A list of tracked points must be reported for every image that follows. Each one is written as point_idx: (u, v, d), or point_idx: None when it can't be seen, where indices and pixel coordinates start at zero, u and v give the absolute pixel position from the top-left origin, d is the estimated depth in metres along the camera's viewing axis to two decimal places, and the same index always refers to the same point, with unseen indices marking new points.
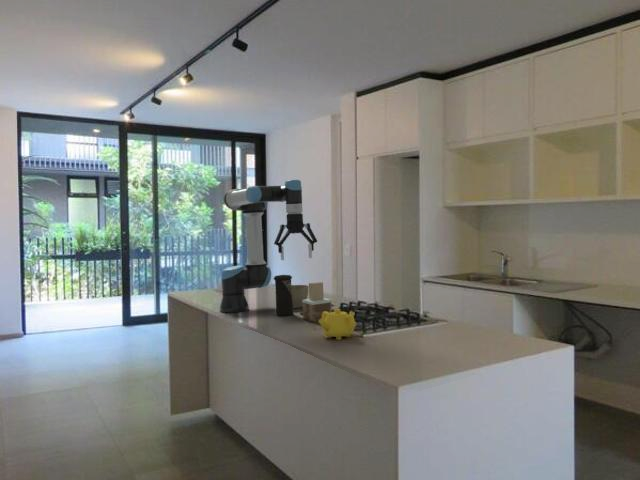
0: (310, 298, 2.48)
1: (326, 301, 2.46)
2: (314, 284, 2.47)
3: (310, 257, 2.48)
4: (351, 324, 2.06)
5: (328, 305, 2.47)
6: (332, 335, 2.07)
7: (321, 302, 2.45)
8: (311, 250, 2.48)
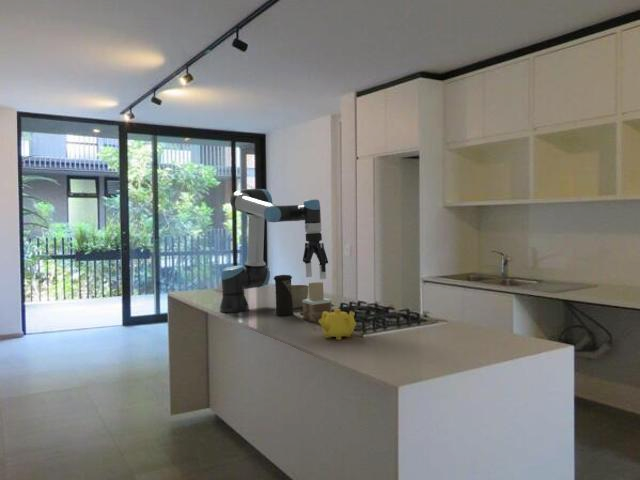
0: (310, 298, 2.48)
1: (326, 301, 2.46)
2: (314, 284, 2.47)
3: (320, 278, 2.42)
4: (351, 324, 2.06)
5: (328, 305, 2.47)
6: (332, 335, 2.07)
7: (321, 302, 2.45)
8: (320, 271, 2.41)
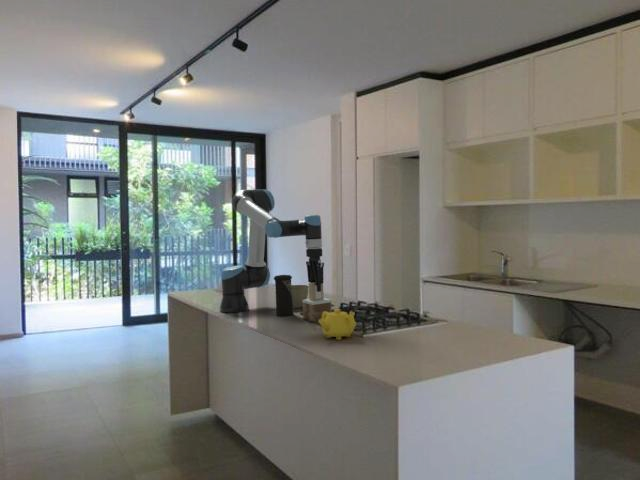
0: (310, 298, 2.48)
1: (326, 301, 2.46)
2: (314, 284, 2.47)
3: None
4: (351, 324, 2.06)
5: (328, 305, 2.47)
6: (332, 335, 2.07)
7: (321, 302, 2.45)
8: (315, 291, 2.46)
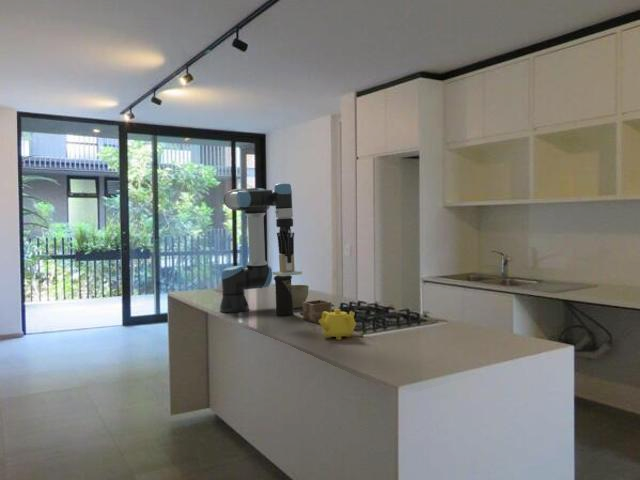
0: (280, 270, 2.39)
1: (297, 273, 2.37)
2: (284, 255, 2.38)
3: (286, 269, 2.38)
4: (351, 324, 2.06)
5: (328, 305, 2.47)
6: (332, 335, 2.07)
7: (291, 274, 2.36)
8: (286, 262, 2.37)
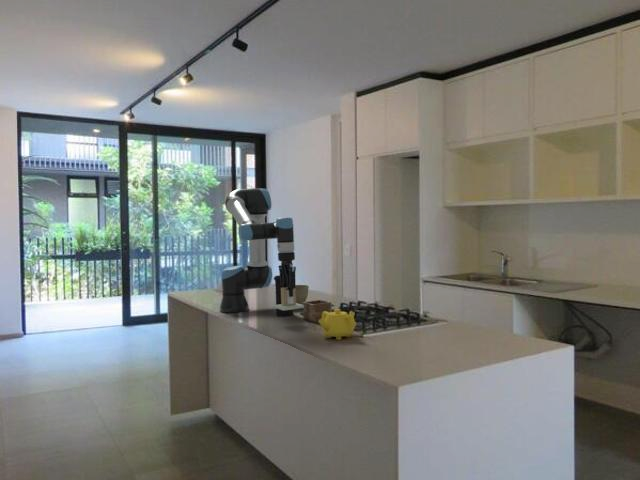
0: (282, 303, 2.40)
1: (298, 306, 2.38)
2: None
3: (288, 303, 2.39)
4: (351, 324, 2.06)
5: (328, 305, 2.47)
6: (332, 335, 2.07)
7: (293, 307, 2.36)
8: (287, 296, 2.38)
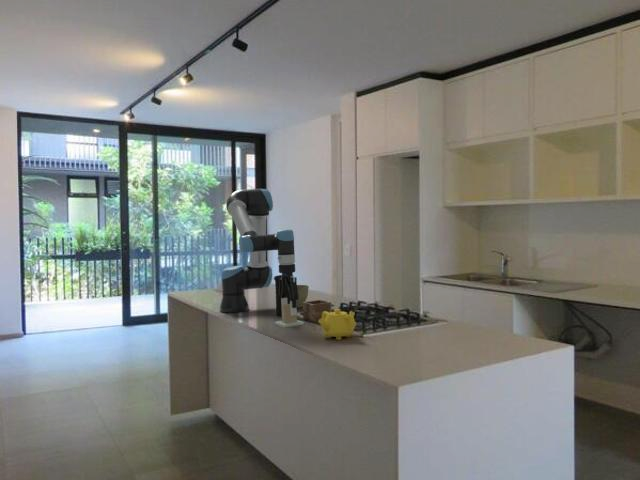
0: (283, 320, 2.40)
1: (299, 323, 2.38)
2: (287, 306, 2.39)
3: (291, 314, 2.37)
4: (351, 324, 2.05)
5: (328, 305, 2.47)
6: (332, 335, 2.07)
7: (294, 325, 2.37)
8: (290, 307, 2.36)
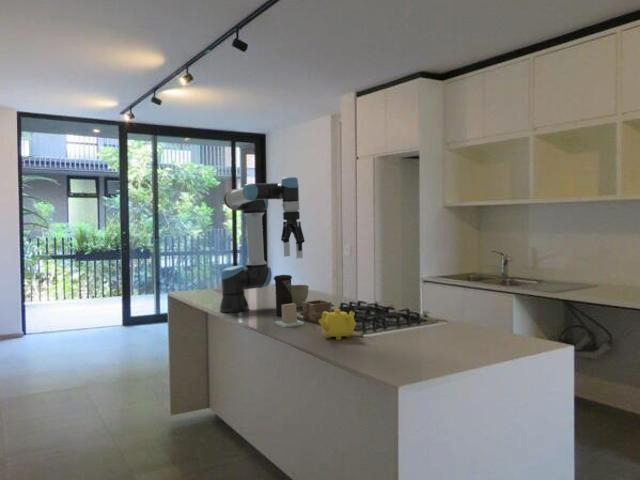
0: (283, 320, 2.40)
1: (299, 324, 2.38)
2: (287, 306, 2.39)
3: None
4: (351, 324, 2.05)
5: (328, 305, 2.47)
6: (332, 335, 2.07)
7: (293, 325, 2.37)
8: (296, 250, 2.38)
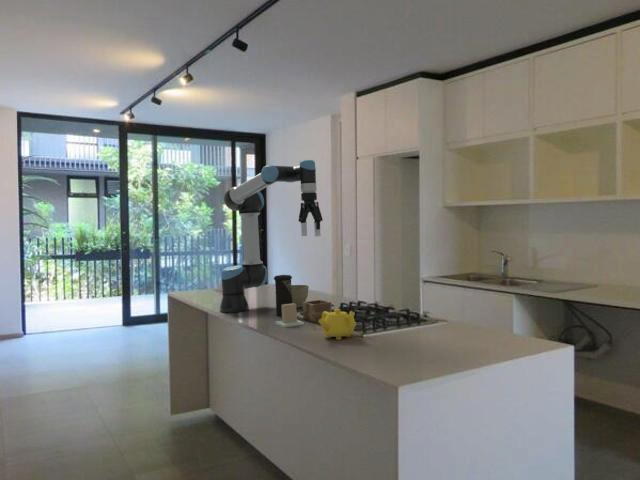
0: (283, 320, 2.40)
1: (299, 324, 2.38)
2: (286, 306, 2.39)
3: (315, 235, 2.52)
4: (351, 324, 2.05)
5: (328, 305, 2.47)
6: (332, 335, 2.07)
7: (293, 325, 2.37)
8: (315, 228, 2.51)
